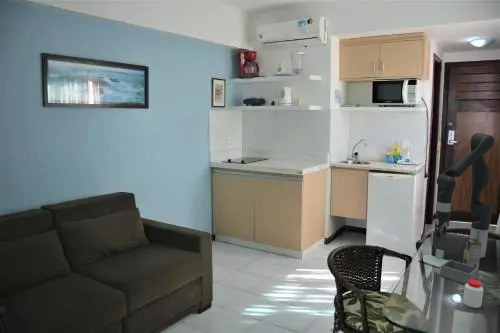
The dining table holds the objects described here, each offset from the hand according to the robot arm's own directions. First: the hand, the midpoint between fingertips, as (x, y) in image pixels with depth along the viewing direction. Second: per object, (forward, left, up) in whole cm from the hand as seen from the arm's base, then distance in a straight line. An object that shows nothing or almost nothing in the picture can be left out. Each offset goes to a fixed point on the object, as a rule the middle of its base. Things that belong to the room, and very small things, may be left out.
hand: (441, 236), depth 246 cm
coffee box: (-3, +17, -15) cm, 23 cm away
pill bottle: (+40, +32, -15) cm, 53 cm away
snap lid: (+5, 0, -15) cm, 16 cm away
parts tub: (+15, +17, -15) cm, 27 cm away
